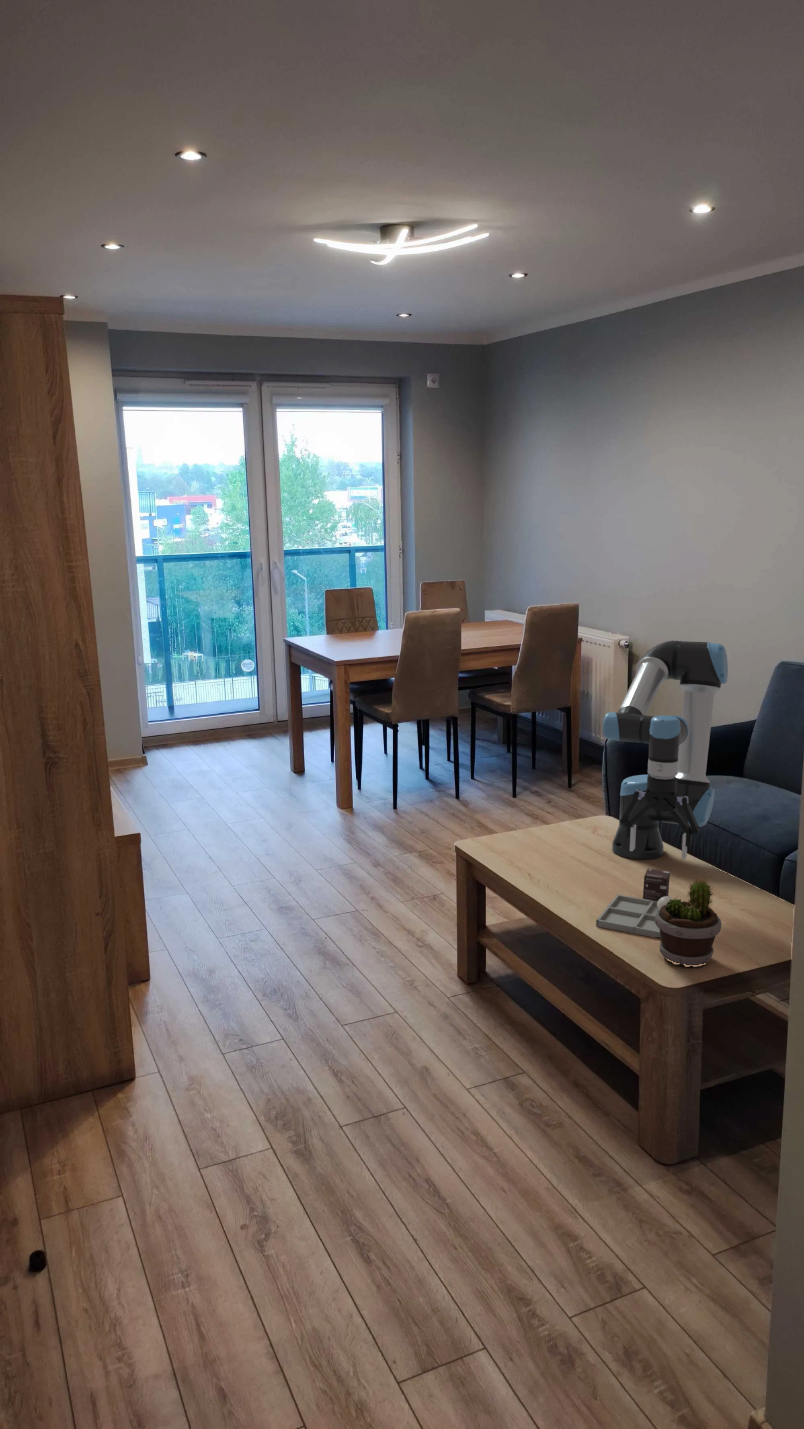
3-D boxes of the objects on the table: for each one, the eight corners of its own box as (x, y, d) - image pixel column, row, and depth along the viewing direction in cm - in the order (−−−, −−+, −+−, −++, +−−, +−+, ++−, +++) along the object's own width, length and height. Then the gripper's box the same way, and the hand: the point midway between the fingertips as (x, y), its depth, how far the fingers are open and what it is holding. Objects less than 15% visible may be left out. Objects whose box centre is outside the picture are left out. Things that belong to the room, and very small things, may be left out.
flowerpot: (681, 978, 224) (687, 894, 220) (639, 951, 237) (643, 871, 233) (733, 967, 229) (739, 884, 225) (689, 940, 243) (694, 862, 239)
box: (642, 901, 267) (643, 875, 266) (645, 893, 273) (647, 868, 271) (665, 905, 265) (667, 878, 263) (668, 896, 270) (670, 871, 269)
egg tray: (617, 900, 268) (617, 894, 268) (689, 913, 259) (690, 907, 259) (596, 926, 252) (596, 920, 251) (672, 941, 243) (673, 934, 243)
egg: (659, 909, 260) (659, 892, 260) (677, 912, 258) (678, 895, 257) (654, 916, 256) (655, 898, 255) (673, 919, 254) (674, 901, 253)
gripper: (611, 773, 264) (607, 850, 268) (708, 785, 253) (703, 865, 257) (619, 766, 271) (615, 842, 275) (714, 778, 259) (709, 856, 264)
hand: (657, 853), depth 266 cm, fingers open, 13 cm apart
